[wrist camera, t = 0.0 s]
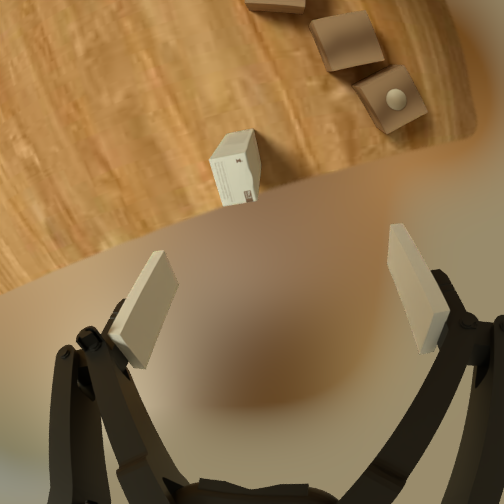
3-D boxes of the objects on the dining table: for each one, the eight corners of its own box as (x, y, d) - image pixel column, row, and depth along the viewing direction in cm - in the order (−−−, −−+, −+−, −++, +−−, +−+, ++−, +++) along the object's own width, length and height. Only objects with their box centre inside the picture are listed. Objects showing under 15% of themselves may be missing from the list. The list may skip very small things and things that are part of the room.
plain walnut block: (308, 26, 29) (311, 20, 25) (356, 16, 27) (365, 10, 23) (326, 71, 33) (332, 71, 29) (373, 61, 31) (384, 60, 27)
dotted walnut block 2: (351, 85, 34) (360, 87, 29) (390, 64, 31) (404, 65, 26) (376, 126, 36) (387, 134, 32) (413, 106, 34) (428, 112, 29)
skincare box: (225, 133, 39) (204, 157, 30) (255, 127, 39) (245, 149, 29) (235, 172, 43) (219, 208, 33) (264, 167, 42) (258, 202, 32)
